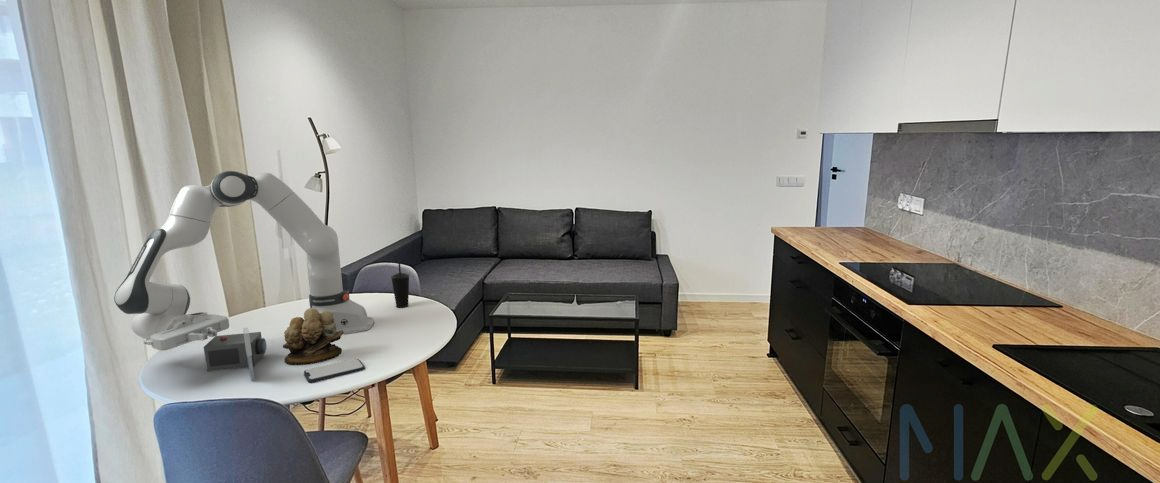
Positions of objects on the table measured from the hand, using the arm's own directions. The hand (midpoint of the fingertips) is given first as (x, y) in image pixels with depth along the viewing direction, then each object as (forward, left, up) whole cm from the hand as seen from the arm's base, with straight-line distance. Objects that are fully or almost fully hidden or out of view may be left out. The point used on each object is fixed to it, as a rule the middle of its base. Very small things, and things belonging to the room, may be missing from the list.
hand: (210, 335), depth 154 cm
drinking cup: (-51, -54, -13) cm, 76 cm away
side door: (-10, +1, -13) cm, 16 cm away
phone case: (-34, +7, -14) cm, 37 cm away
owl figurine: (-26, -7, -13) cm, 30 cm away
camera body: (-3, -9, -13) cm, 16 cm away
